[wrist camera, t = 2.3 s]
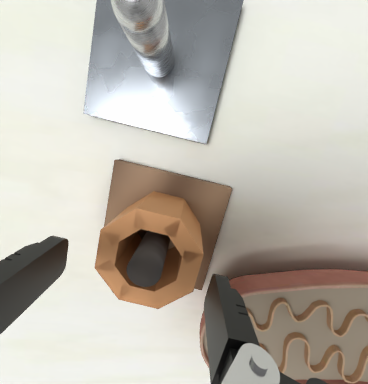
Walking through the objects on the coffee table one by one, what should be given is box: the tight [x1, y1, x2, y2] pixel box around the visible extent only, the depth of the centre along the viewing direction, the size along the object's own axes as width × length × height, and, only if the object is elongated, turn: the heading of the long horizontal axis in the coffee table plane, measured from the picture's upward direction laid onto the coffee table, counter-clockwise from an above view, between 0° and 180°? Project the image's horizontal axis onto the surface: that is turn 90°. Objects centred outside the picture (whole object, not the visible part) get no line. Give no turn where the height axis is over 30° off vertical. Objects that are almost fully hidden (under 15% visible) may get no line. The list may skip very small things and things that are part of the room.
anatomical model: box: [200, 269, 368, 384], centre depth 16 cm, size 23×10×5 cm, turn 90°
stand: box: [104, 160, 232, 290], centre depth 14 cm, size 10×10×7 cm
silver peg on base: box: [84, 0, 243, 144], centre depth 11 cm, size 10×10×7 cm
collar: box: [95, 191, 204, 309], centre depth 14 cm, size 6×6×5 cm
